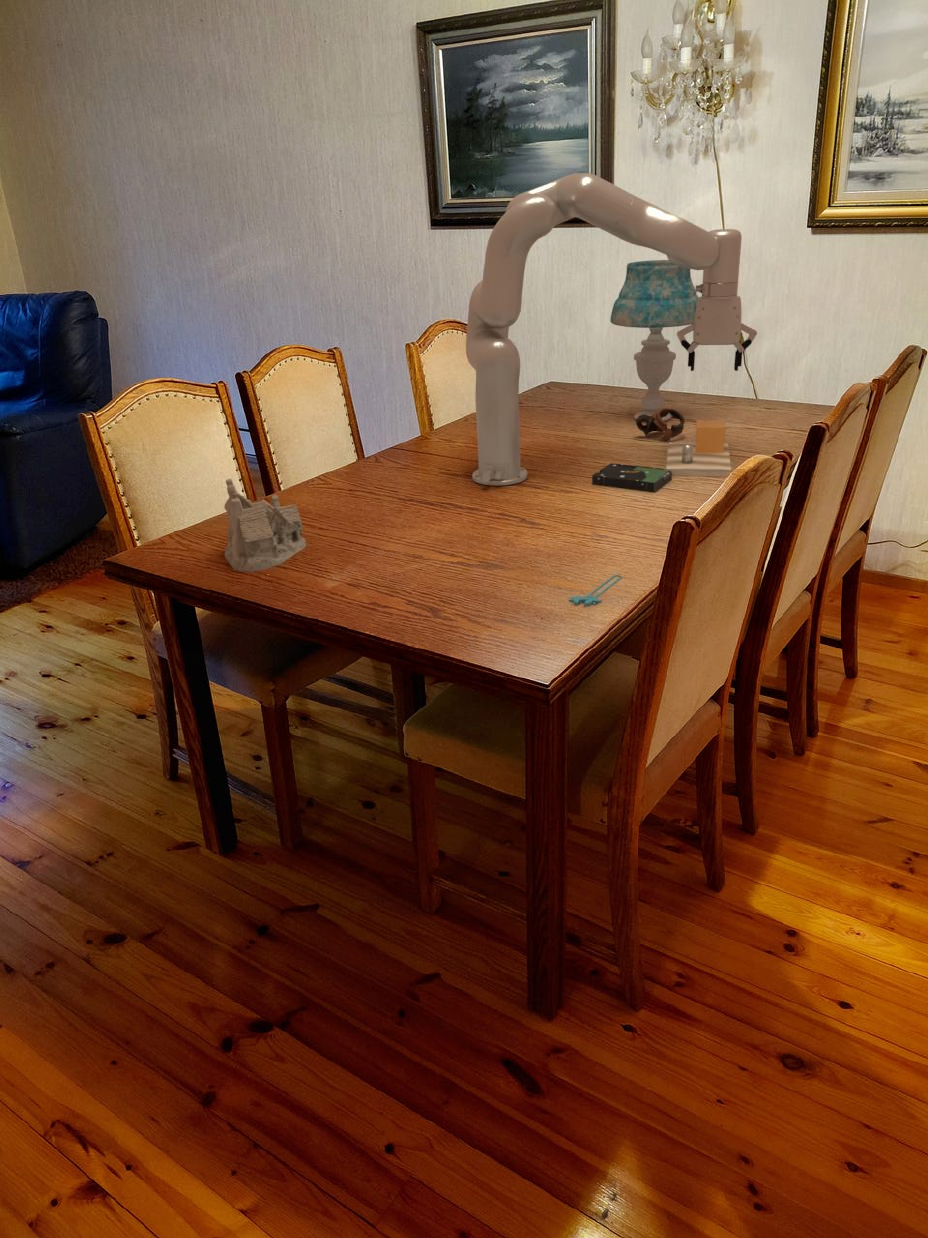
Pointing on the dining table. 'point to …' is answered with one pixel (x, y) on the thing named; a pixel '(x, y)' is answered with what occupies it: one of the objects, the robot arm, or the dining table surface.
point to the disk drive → (632, 477)
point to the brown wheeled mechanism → (661, 423)
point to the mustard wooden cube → (710, 437)
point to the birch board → (698, 462)
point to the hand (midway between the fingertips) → (714, 369)
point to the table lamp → (655, 319)
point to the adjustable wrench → (590, 598)
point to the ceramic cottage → (261, 532)
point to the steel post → (687, 453)
